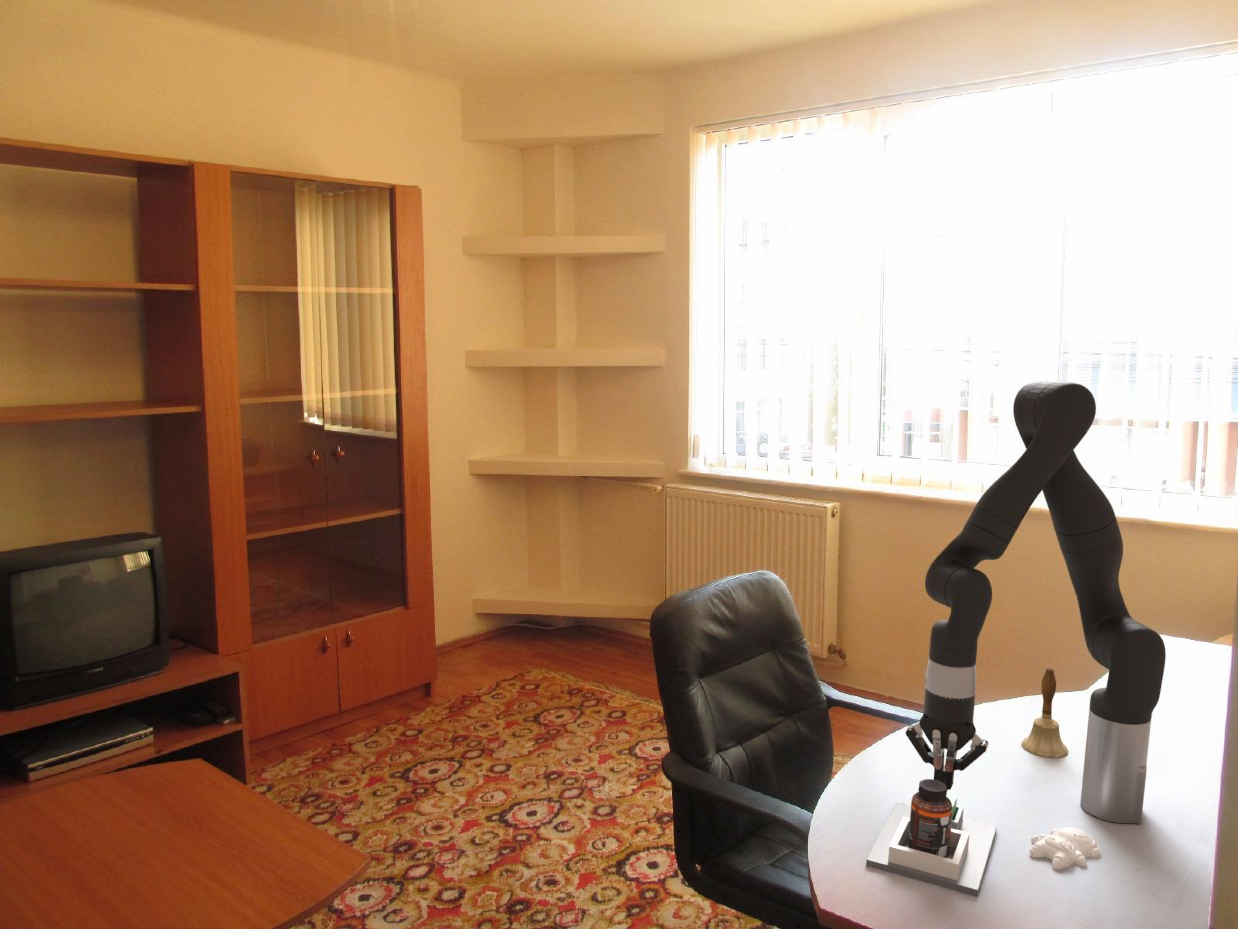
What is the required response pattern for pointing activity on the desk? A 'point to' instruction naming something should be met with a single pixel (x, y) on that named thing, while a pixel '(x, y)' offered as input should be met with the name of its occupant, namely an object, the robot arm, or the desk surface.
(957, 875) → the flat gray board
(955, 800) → the button
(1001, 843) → the desk surface
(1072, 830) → the astronaut figurine
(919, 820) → the supplement bottle
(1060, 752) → the hand bell
